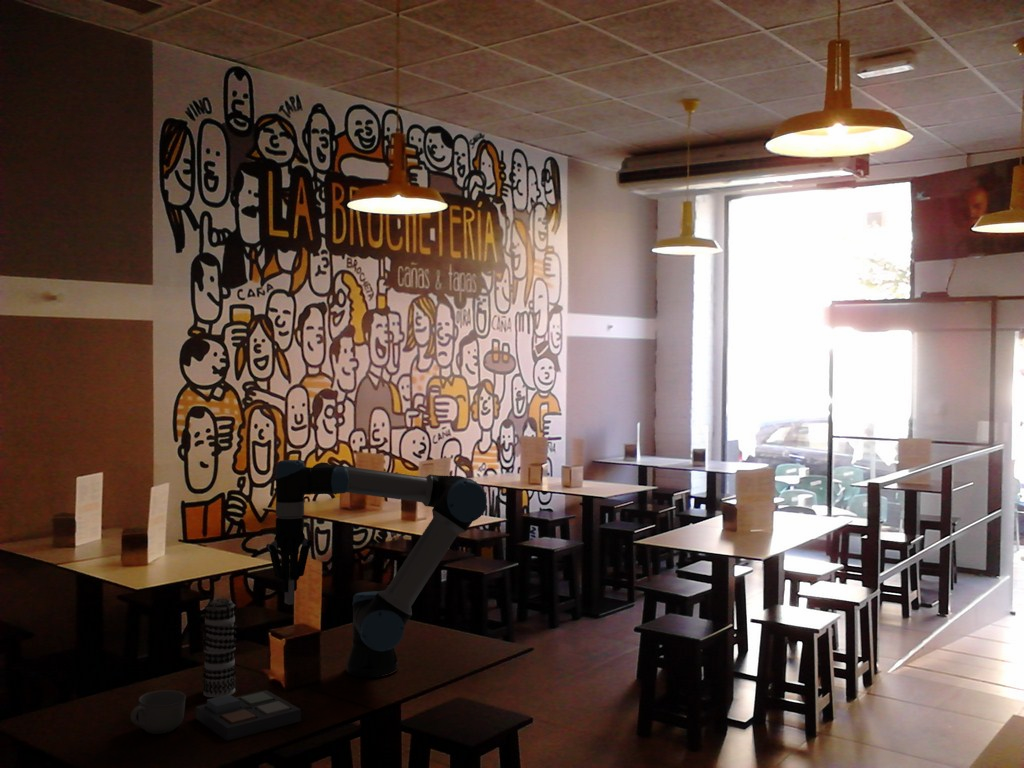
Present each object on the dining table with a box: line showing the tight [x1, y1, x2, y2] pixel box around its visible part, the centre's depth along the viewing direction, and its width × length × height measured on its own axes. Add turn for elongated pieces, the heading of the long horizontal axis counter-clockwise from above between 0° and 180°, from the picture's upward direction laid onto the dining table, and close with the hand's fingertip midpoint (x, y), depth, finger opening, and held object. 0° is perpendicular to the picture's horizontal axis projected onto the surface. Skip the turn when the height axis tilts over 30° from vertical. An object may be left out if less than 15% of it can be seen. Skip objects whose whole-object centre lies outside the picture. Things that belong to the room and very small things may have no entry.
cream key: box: [256, 701, 290, 716], centre depth 220 cm, size 6×6×3 cm
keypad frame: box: [195, 689, 302, 742], centre depth 221 cm, size 19×19×3 cm
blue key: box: [206, 694, 240, 714], centre depth 221 cm, size 6×6×3 cm
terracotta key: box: [222, 710, 256, 725], centre depth 215 cm, size 6×6×3 cm
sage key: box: [241, 692, 273, 706], centre depth 227 cm, size 6×6×3 cm
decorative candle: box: [201, 598, 238, 699], centre depth 241 cm, size 9×9×25 cm
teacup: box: [130, 689, 187, 735], centre depth 213 cm, size 14×11×8 cm
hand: (289, 603), depth 241 cm, fingers closed
